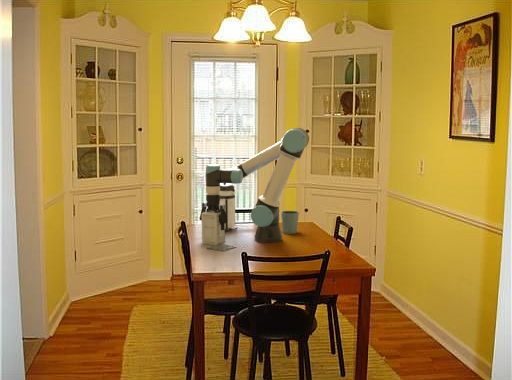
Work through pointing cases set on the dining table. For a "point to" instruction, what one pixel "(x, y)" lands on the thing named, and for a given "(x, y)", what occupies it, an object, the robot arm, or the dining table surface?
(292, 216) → the drinking glass
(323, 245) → the dining table surface
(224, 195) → the coffee press
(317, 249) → the dining table surface
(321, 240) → the dining table surface
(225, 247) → the trivet
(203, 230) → the supplement box
